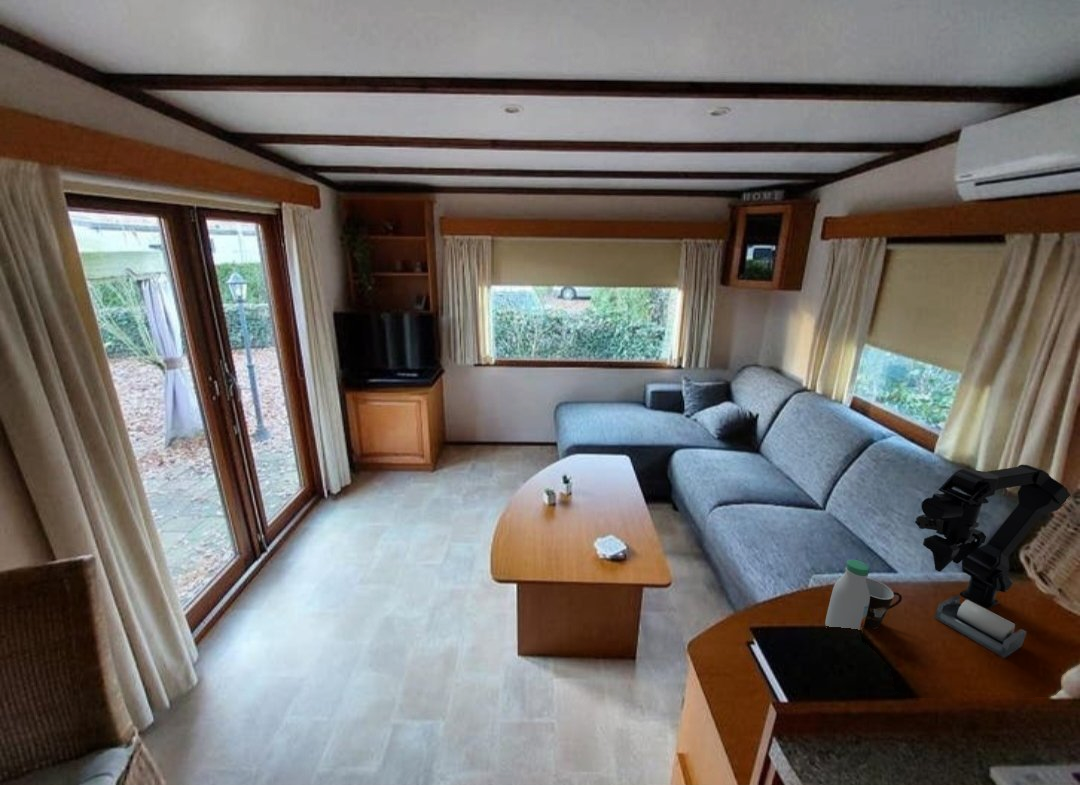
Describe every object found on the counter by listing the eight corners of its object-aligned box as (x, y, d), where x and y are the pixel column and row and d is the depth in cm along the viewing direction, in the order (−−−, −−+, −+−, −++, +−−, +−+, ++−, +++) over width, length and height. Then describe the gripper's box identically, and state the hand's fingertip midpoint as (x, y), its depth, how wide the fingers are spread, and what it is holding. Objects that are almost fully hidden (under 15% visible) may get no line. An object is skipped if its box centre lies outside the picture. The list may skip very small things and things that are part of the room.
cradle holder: (951, 608, 121) (956, 595, 119) (1021, 646, 108) (1026, 631, 107) (934, 618, 117) (938, 604, 116) (1004, 658, 105) (1009, 643, 103)
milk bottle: (849, 647, 107) (867, 578, 102) (818, 625, 113) (833, 559, 108) (866, 636, 110) (884, 569, 105) (835, 616, 117) (850, 551, 112)
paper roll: (954, 616, 114) (963, 598, 114) (961, 618, 117) (970, 600, 117) (1001, 642, 106) (1011, 622, 106) (1007, 644, 109) (1017, 625, 109)
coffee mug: (848, 624, 114) (856, 592, 111) (843, 603, 121) (850, 573, 119) (903, 641, 109) (913, 608, 106) (894, 618, 116) (903, 587, 114)
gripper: (943, 496, 127) (929, 543, 130) (907, 508, 119) (894, 557, 123) (994, 515, 117) (977, 565, 121) (958, 529, 109) (942, 582, 113)
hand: (946, 566), depth 120 cm, fingers open, 9 cm apart
